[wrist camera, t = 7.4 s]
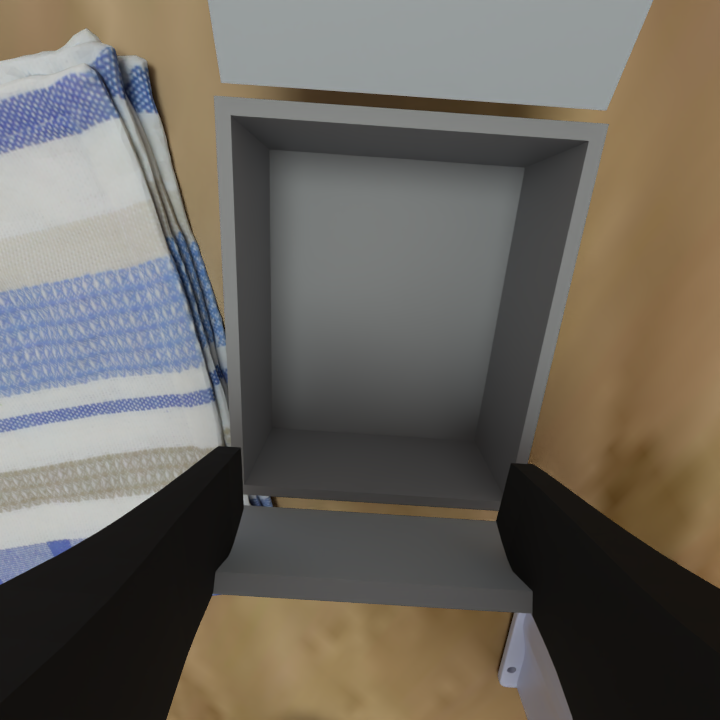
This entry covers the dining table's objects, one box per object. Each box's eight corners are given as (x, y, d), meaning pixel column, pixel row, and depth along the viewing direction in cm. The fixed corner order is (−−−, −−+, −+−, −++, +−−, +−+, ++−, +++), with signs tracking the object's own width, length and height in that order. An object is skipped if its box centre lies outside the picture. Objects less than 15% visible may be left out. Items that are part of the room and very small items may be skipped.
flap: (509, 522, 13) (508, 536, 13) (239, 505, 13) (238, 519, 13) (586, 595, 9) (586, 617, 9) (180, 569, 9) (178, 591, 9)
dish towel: (154, 48, 13) (102, 2, 11) (304, 560, 21) (295, 608, 18) (-267, 149, 15) (-407, 130, 12) (14, 598, 22) (-35, 648, 19)
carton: (479, 444, 18) (516, 512, 13) (265, 430, 18) (233, 493, 13) (533, 158, 14) (608, 124, 10) (261, 138, 14) (214, 95, 10)
